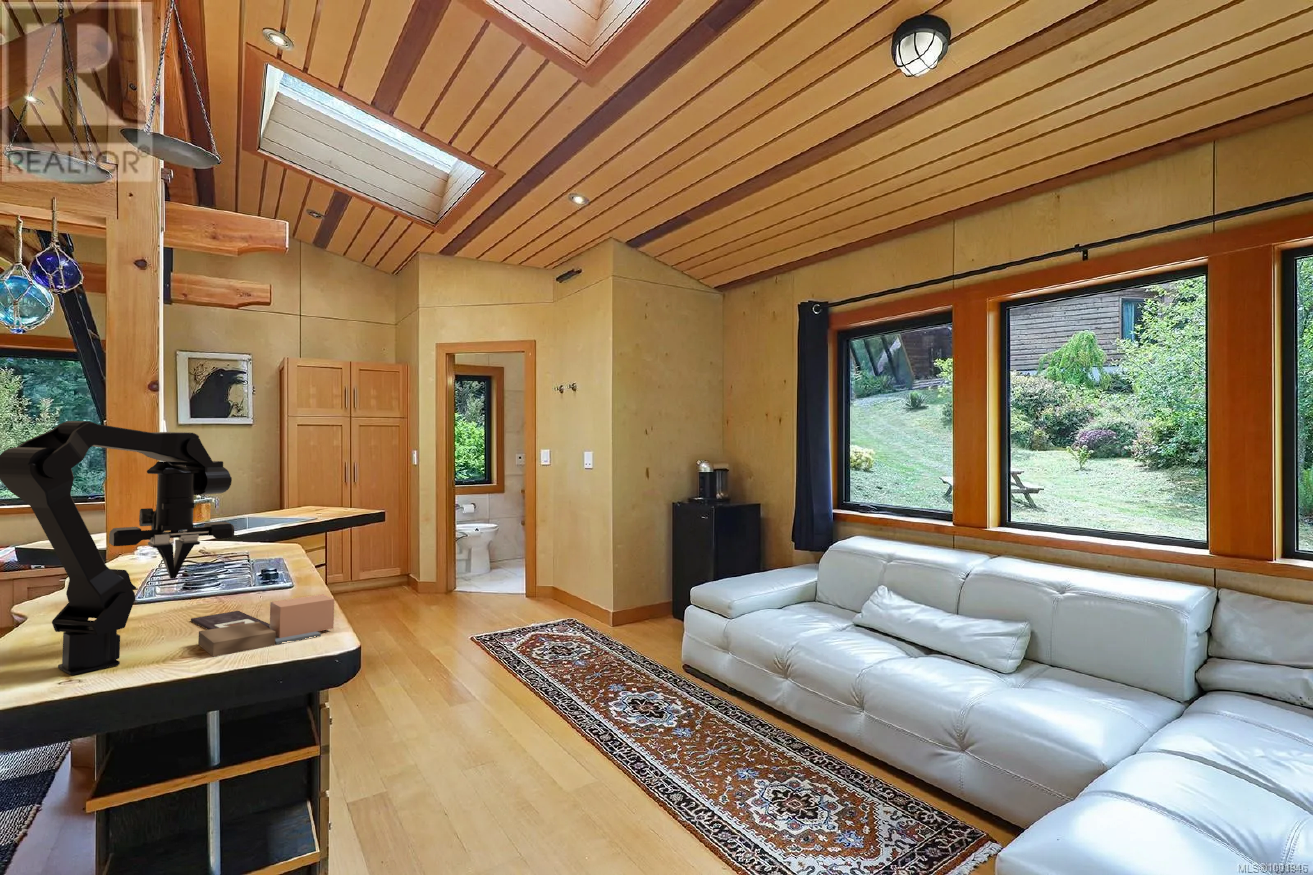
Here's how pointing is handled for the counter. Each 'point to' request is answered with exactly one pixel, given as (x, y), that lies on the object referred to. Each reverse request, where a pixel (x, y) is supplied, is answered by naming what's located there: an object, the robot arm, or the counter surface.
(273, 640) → the board
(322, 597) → the block
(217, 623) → the chocolate bar
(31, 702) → the counter surface
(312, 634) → the mat
